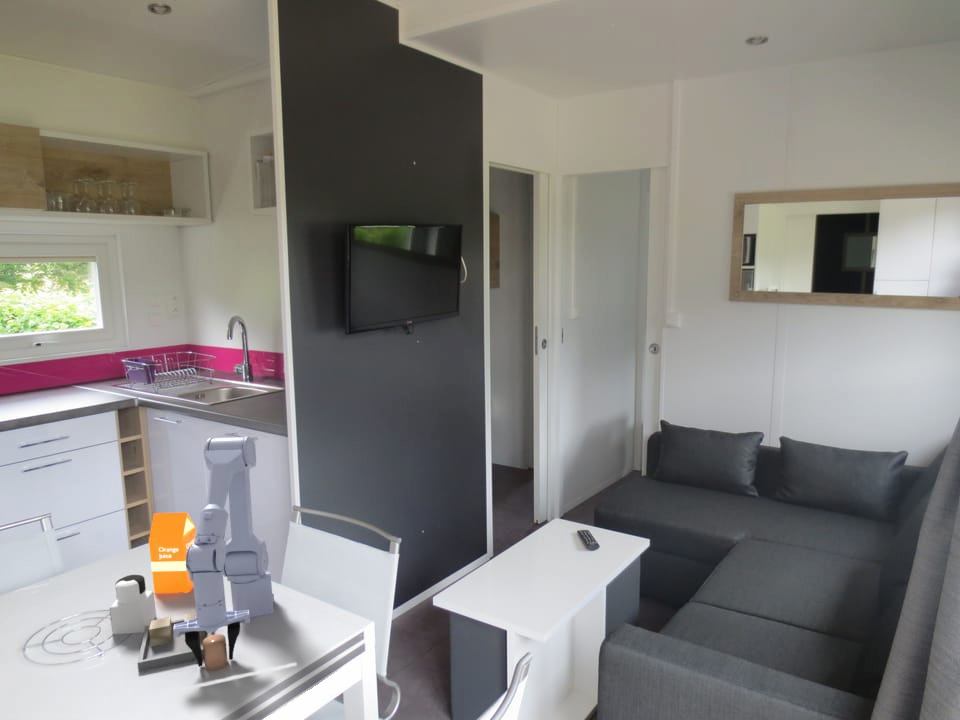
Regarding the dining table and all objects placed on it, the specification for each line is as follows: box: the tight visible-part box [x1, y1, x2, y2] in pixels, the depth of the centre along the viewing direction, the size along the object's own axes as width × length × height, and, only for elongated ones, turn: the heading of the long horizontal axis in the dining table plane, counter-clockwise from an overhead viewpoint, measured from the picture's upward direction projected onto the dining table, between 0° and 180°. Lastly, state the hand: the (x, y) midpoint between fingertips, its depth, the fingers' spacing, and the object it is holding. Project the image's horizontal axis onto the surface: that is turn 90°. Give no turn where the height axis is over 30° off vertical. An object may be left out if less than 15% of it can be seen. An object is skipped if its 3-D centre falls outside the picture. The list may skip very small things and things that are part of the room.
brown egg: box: [203, 633, 229, 672], centre depth 141 cm, size 4×4×6 cm
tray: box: [137, 618, 214, 672], centre depth 148 cm, size 14×15×2 cm
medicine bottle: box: [109, 574, 157, 635], centre depth 156 cm, size 7×7×12 cm
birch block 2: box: [184, 611, 206, 637], centre depth 153 cm, size 4×4×4 cm
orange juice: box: [148, 512, 197, 594], centre depth 175 cm, size 8×9×20 cm
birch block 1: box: [149, 616, 173, 647], centre depth 150 cm, size 4×4×4 cm
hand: (216, 660), depth 141 cm, fingers open, 5 cm apart
